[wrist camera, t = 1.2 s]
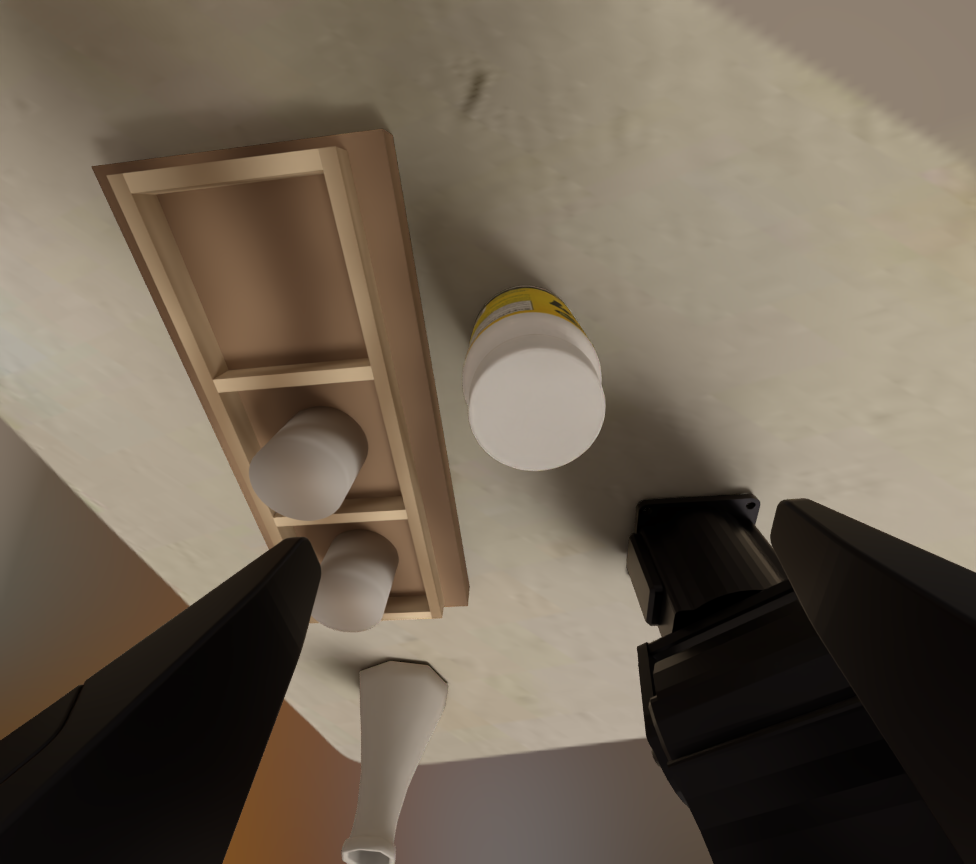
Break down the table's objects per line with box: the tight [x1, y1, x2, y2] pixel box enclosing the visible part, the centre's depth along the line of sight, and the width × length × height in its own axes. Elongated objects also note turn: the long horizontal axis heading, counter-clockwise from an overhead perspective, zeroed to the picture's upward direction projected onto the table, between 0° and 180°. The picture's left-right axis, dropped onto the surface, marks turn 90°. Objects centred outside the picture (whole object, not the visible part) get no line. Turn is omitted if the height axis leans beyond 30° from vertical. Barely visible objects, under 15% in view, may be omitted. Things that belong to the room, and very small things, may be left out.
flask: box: [342, 661, 448, 864], centre depth 28 cm, size 7×7×10 cm
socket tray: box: [91, 129, 470, 632], centre depth 20 cm, size 11×24×5 cm, turn 6°
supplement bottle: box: [462, 286, 606, 471], centre depth 16 cm, size 5×5×8 cm
